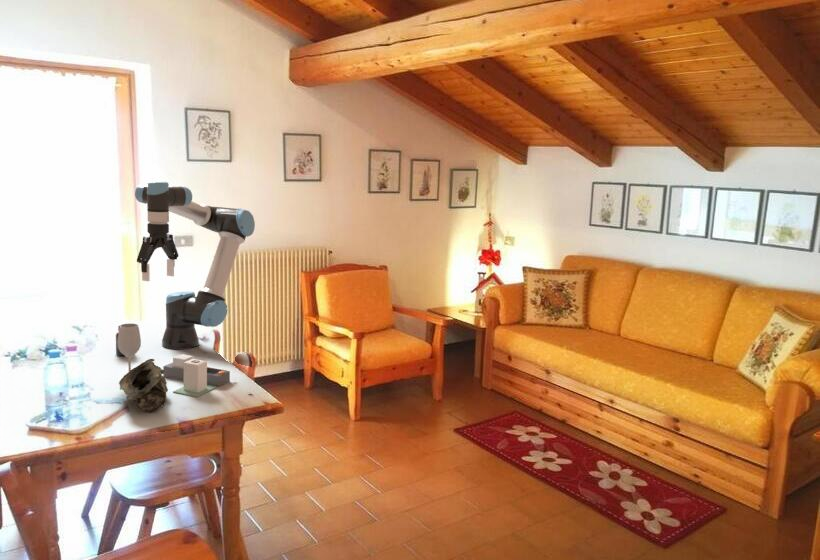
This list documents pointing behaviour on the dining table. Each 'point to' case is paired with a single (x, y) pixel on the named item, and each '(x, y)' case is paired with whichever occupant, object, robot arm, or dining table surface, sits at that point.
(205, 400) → the dining table surface
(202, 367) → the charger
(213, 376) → the power strip
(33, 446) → the dining table surface
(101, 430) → the dining table surface
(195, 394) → the felt mat
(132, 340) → the wineglass
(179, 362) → the block
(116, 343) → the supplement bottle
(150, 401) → the hollow geode rock
